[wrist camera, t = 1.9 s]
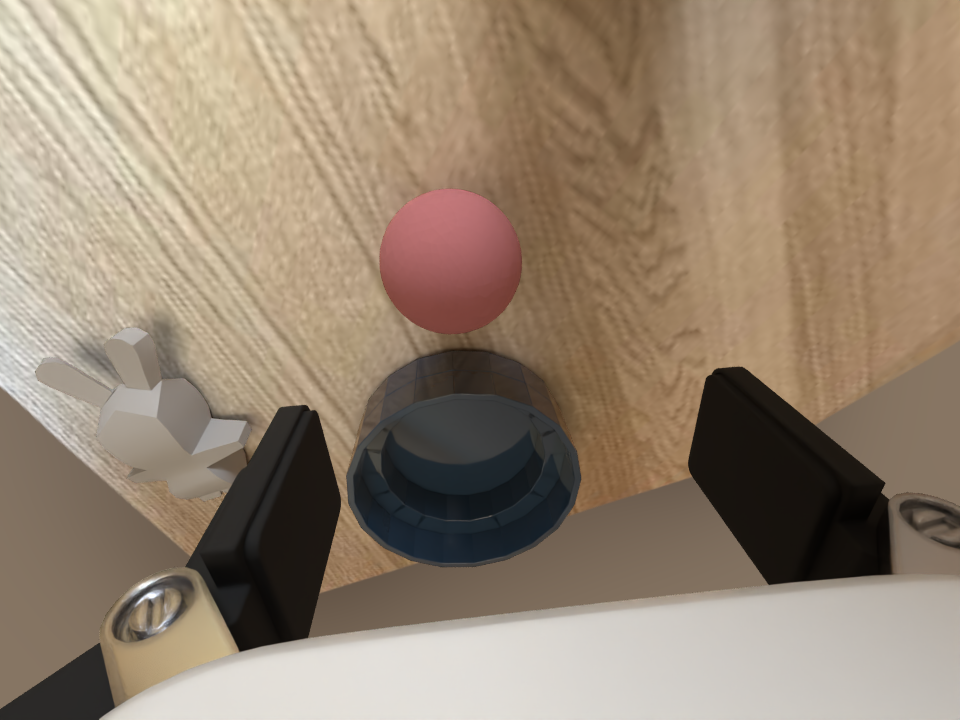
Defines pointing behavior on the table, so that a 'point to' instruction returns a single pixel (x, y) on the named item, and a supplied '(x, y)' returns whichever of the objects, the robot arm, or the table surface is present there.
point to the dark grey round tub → (462, 461)
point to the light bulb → (450, 261)
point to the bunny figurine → (156, 420)
